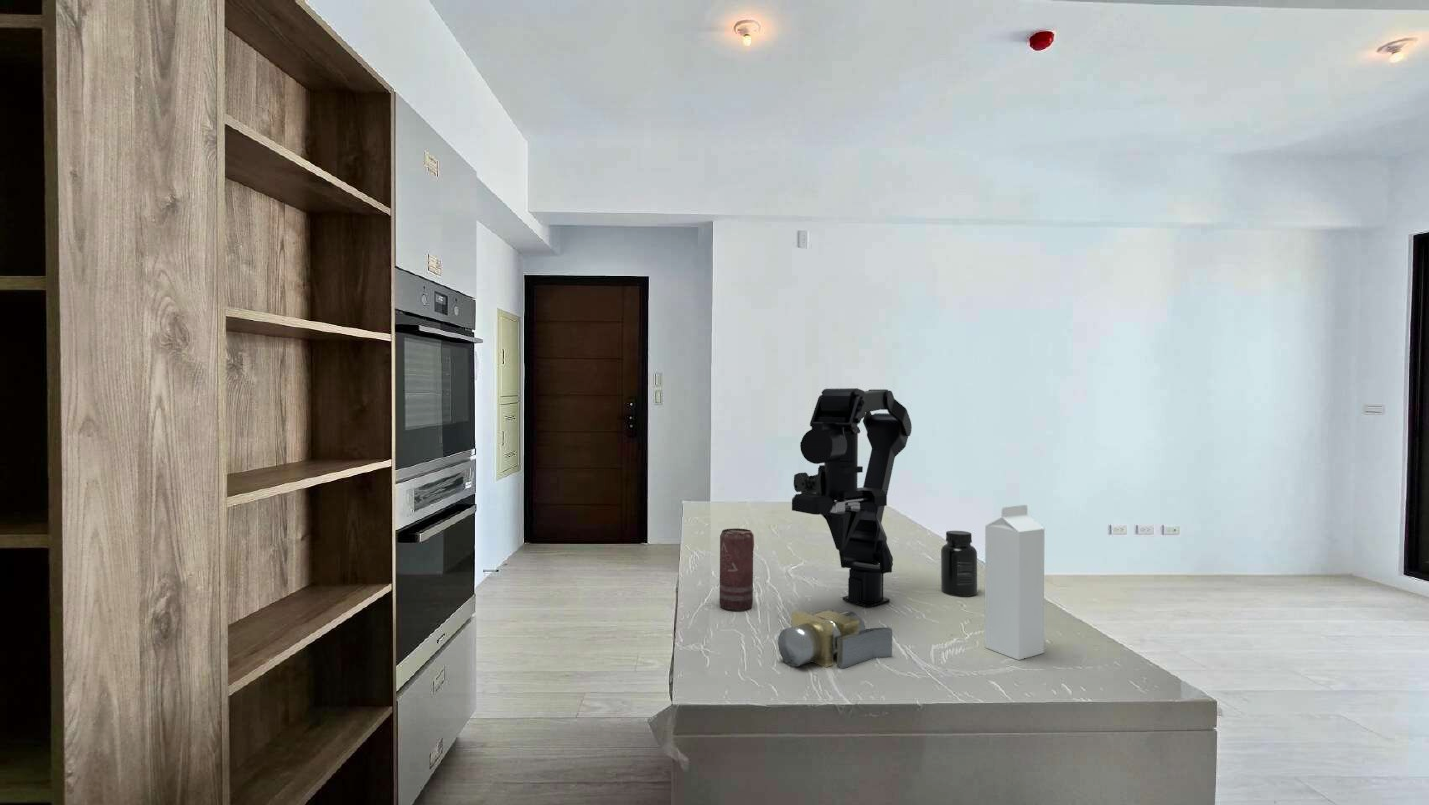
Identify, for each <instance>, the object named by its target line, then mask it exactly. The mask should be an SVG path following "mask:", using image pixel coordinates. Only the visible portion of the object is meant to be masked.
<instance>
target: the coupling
mask: <svg viewBox="0 0 1429 805" xmlns="http://www.w3.org/2000/svg"><path fill="white" fill-rule="evenodd" d="M828 610H829V611H833V612H834V608H828V607H827V608H826V609H825V610H823V612H825V611H828ZM813 615H814V614H813ZM813 615H812V614H809V613H807V612H804V611H801V610H798V611H795V612H791V627H788V628H784V629H781V631H780V633H779V635H778V639H777V646H778V651H779V653H780V656H781V658H782V660H783V661H784V662H785V663H786V664H787V665H788V666H790V667H799V666H802V665H805V664H808V663H811V662H812V663H814V664H817V665H819V666H822V667H824V668H829V667H830V666H834V657H833V647H834V623H833V622H830V621H827V620H824V619H821V618H818V617H816V616H813ZM889 657H893V629H892V628H891V627H871V628H866V630H862V631H859V632H856V633H853V634H849V635H846V636H843V637H840V638H837V658H836V667H837V668H840V669H843V670H844V669H846V668H848V667H851V666H855V665H858V664H859V663H863V662H865V661H868V660H871V659H873V658H874V659H876V658H889Z"/></svg>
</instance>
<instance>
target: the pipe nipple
mask: <svg viewBox="0 0 1429 805" xmlns="http://www.w3.org/2000/svg"><path fill="white" fill-rule="evenodd" d="M824 611H825V610H824ZM824 611H821V612H819V613H815V614H813V616H816V617H818V618H821V619H824V620H827V621H830V622H833V623H834V647H833V658H836V659H837V638H840V637H843V636H846V635H849V634H853V633H856V632H859V631H862V630H866V629H867V628H866V627H867V626H866V625H865V622H864V620H863V619H862V618H861V617H860V616H859V614H857V613H856V612H853V611H845V612H841V613H838V612H835V611H834V610H833V611H829V610H828V611H825V612H824Z"/></svg>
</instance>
